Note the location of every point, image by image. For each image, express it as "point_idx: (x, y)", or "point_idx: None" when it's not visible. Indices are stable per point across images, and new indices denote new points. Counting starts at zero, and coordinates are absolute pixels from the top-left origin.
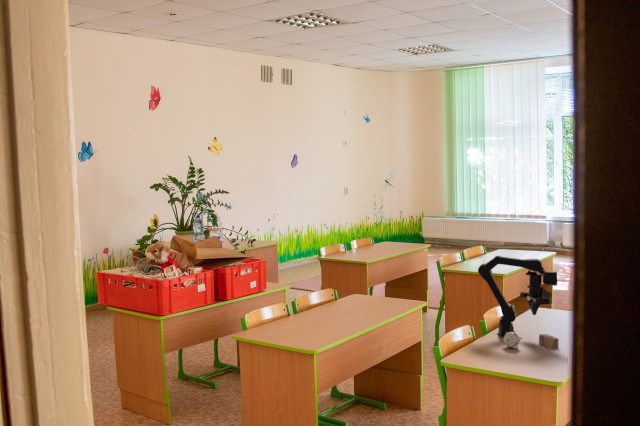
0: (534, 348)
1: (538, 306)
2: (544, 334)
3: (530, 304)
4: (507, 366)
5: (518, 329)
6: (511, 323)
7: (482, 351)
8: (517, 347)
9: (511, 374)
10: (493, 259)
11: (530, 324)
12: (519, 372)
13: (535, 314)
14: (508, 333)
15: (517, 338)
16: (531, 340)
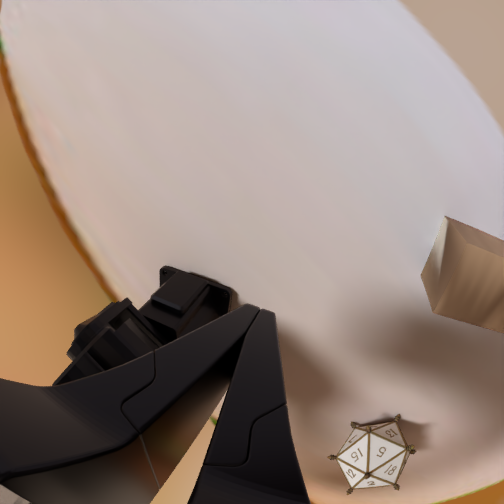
0: (454, 367)
1: (292, 478)
2: (462, 281)
3: (155, 494)
4: (454, 485)
5: (104, 134)
6: (160, 324)
7: (342, 477)
8: (398, 418)
9: (475, 491)
10: None
11: (64, 16)
12: (486, 481)
13: (274, 321)
14: (364, 486)
15: (404, 461)
16: (348, 263)
